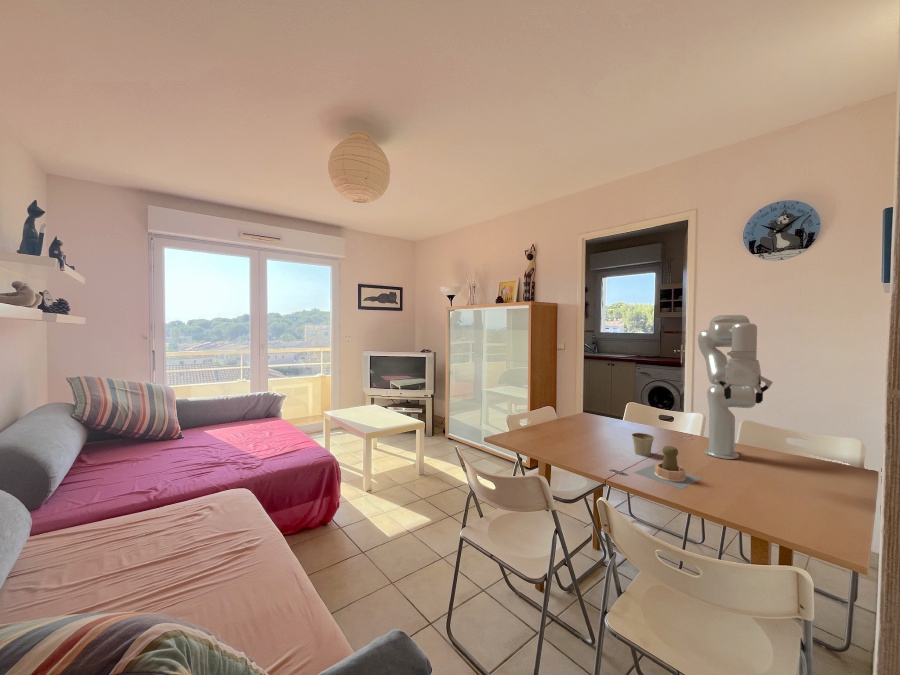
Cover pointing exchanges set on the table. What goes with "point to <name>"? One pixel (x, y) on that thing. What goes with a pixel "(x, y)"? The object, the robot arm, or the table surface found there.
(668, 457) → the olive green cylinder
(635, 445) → the flower pot
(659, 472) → the peach octagonal bowl
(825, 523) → the table surface
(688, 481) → the felt mat
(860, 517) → the table surface
